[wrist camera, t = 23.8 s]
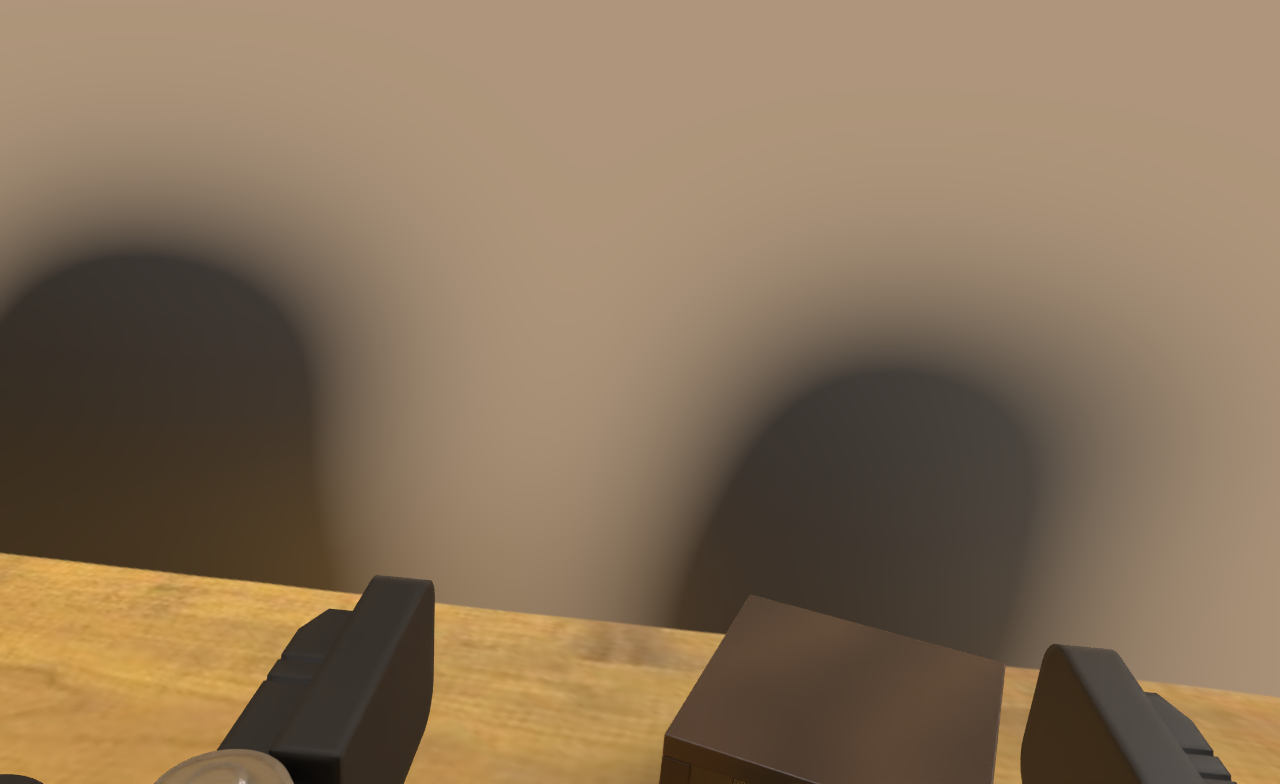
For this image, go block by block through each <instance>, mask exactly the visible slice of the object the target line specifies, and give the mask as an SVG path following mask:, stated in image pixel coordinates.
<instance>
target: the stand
mask: <svg viewBox="0 0 1280 784" xmlns="http://www.w3.org/2000/svg"><path fill="white" fill-rule="evenodd" d="M1004 675H1005V664H1004V663H1001V662H997V661H994V660H990V659H986V658H982V657H979V656H975V655H971V654H968V653H964V652H960V651H957V650H953V649H949V648H946V647H942V646H938V645H935V644H931V643H927V642H923V641H920V640H916V639H912V638H908V637H905V636H901V635H897V634H894V633H890V632H886V631H883V630H879V629H876V628H872V627H868V626H865V625H860V624H857V623H853V622H850V621H846V620H842V619H839V618H835V617H831V616H828V615H824V614H820V613H817V612H813V611H809V610H806V609H802V608H798V607H795V606H791V605H787V604H783V603H780V602H776V601H772V600H768V599H765V598H761V597H757V596H754V595H750V596H749V597H748V599H747V601H746V602H745V604H744V606H743V607H742V609H741V611H740V612H739V614H738V616H737V617H736V619H735V620H734V622H733V624H732V625H731V627H730V629H729V630H728V632H727V633H726V635H725V637H724V638H723V640H722V642H721V643H720V645H719V647H718V648H717V650H716V651H715V653H714V655H713V656H712V658H711V660H710V661H709V663H708V665H707V666H706V668H705V669H704V671H703V673H702V674H701V676H700V678H699V679H698V681H697V683H696V684H695V686H694V687H693V689H692V691H691V692H690V694H689V696H688V697H687V699H686V701H685V702H684V704H683V705H682V707H681V709H680V710H679V712H678V714H677V715H676V717H675V719H674V720H673V722H672V724H671V725H670V727H669V728H668V730H667V732H666V733H665V737H664V746H663V756H662V764H661V773H660V782H659V784H732V782H733V780H734V779H737V780H739V781H742V782H745V783H748V784H993V780H994V770H995V761H996V751H997V742H998V732H999V723H1000V713H1001V704H1002V694H1003V685H1004Z"/></svg>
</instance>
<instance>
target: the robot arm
mask: <svg viewBox="0 0 1280 784" xmlns="http://www.w3.org/2000/svg"><path fill="white" fill-rule="evenodd" d="M434 612H435V593H434V585H433V582H432V581H431V580H421V579H410V578H401V577H391V576H380V575H376V576H374V577H373V579H372V580H371V581H370V583H369V585H368V587H367V588H366V590H365V592H364V593H363V595H362V596H361V598H360V600H359V601H358V603H357V605H356V606H355V608H354V610H353V611H347V610H337V609H328V610H326V611H325V612H323V613H322V614H320V615H319V616H317V617H316V618H314V619H313V620H311V621H310V622H308V623H307V624H305V625H304V626H302V627H301V628H299V629H298V631H297V632H296V634H295V635H294V637H293V638H292V640H291V641H290V642H289V644H288V645H287V647H286V648H285V650H284V651H283V653H282V655H281V660H280V659H278V660H277V662H276V663H275V665H274V666H273V668H272V669H271V671H270V672H269V674H268V675H267V680H266V681H263V683H262V684H261V685H260V687H259V688H258V690H257V691H256V693H255V694H254V696H253V697H252V699H251V700H250V702H249V703H248V705H247V706H246V708H245V709H244V711H243V712H242V714H241V715H240V717H239V718H238V720H237V721H236V723H235V724H234V725H233V727H232V728H231V730H230V731H229V733H228V734H227V736H226V737H225V739H224V740H223V742H222V743H221V745H220V746H219V748H218V749H217V751H213V752H209V753H205V754H201V755H199V756H196V757H193V758H190V759H188V760H186V761H184V762H182V763H180V764H178V765H177V766H175V767H173V768H172V769H170V770H169V771H167V772H166V773H165V774H164V775H162V776H161V777H160V778H159V779H158V780H157V781H156V782H155V783H154V784H404V781H405V779H406V776H407V774H408V771H409V769H410V766H411V764H412V761H413V759H414V756H415V754H416V751H417V749H418V746H419V744H420V741H421V738H422V736H423V733H424V731H425V728H426V724H427V721H428V717H429V712H430V707H431V700H432V693H433V676H434ZM1021 777H1022V783H1023V784H1237V783H1236V782H1232V781H1231V775H1230V773H1229V772H1228V771H1227V769H1226V768H1225V766H1224V765H1223V764H1222V762H1221V761H1220V759H1219V758H1218V757H1214V756H1213V750H1212V748H1211V747H1210V745H1209V744H1208V743H1207V741H1206V740H1205V738H1204V737H1203V736H1202V734H1201V733H1200V731H1199V730H1198V729H1197V727H1196V726H1195V724H1194V723H1193V722H1192V721H1191V720H1190V719H1189V718H1188V717H1186V716H1185V715H1184V714H1182V713H1181V712H1180V711H1179V710H1177V709H1176V708H1175V707H1174V706H1172V705H1171V704H1170V703H1168V702H1167V701H1166V700H1165V699H1163V698H1162V697H1161V696H1160V695H1158V694H1157V693H1149V692H1144V691H1143V690H1142V688H1141V687H1140V685H1139V684H1138V682H1137V681H1136V679H1135V678H1134V677H1133V675H1132V674H1131V672H1130V671H1129V669H1128V668H1127V666H1126V665H1125V663H1124V662H1123V660H1122V659H1121V657H1120V656H1119V655H1118V653H1117V652H1115V651H1114V650H1110V649H1101V648H1091V647H1080V646H1070V645H1060V644H1053V645H1051V646H1050V647H1049V648H1048V649H1047V651H1046V653H1045V655H1044V658H1043V661H1042V664H1041V668H1040V672H1039V677H1038V681H1037V685H1036V689H1035V693H1034V697H1033V701H1032V705H1031V709H1030V713H1029V717H1028V721H1027V725H1026V729H1025V733H1024V737H1023V742H1022V747H1021ZM0 784H43V783H41V782H39V781H37V780H36V779H33V778H30V777H26V776H21V775H13V774H0Z"/></svg>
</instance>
